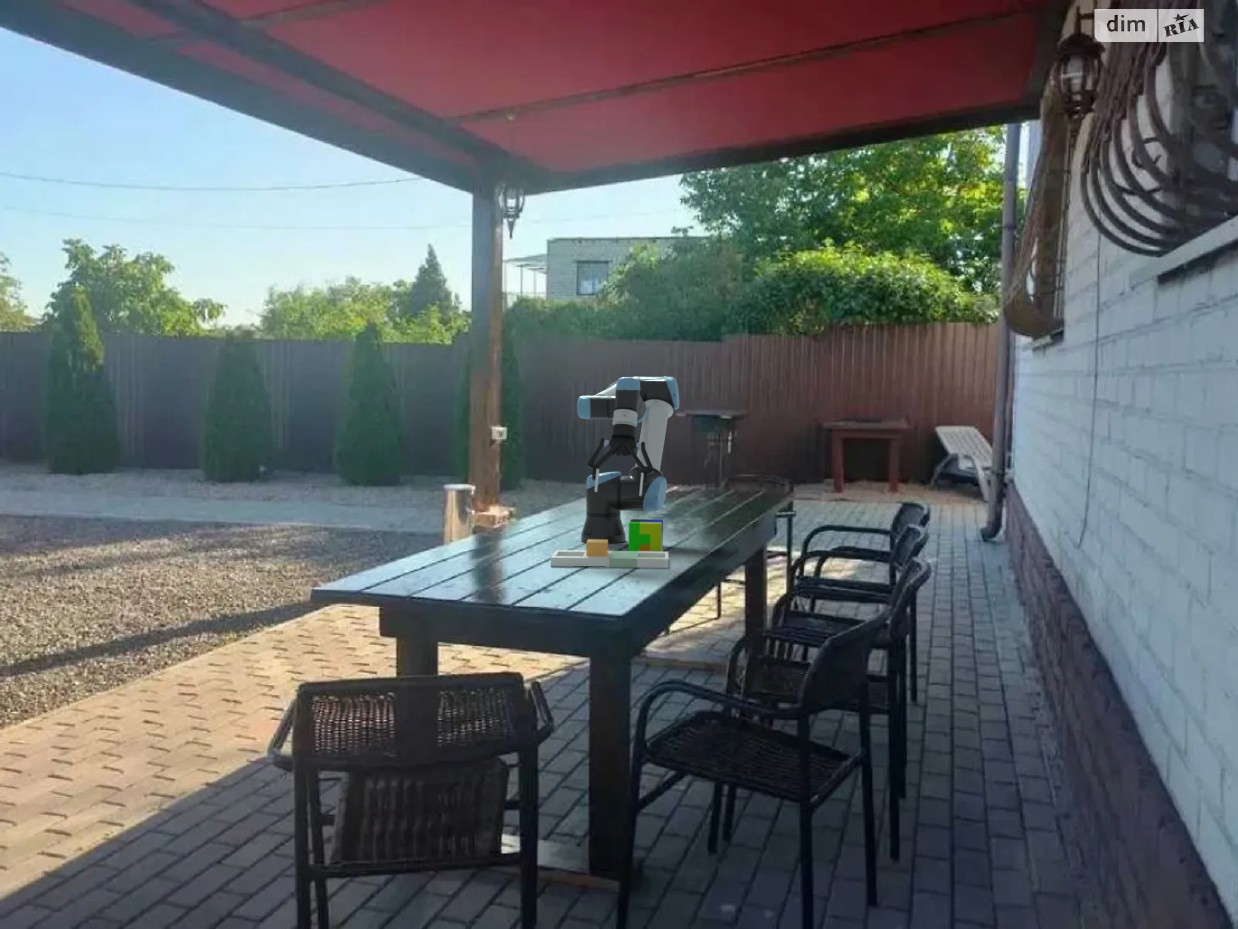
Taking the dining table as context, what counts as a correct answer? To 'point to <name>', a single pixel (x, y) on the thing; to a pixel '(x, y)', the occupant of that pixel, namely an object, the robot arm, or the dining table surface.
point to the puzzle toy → (645, 535)
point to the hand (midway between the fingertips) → (618, 492)
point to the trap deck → (611, 559)
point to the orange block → (596, 547)
